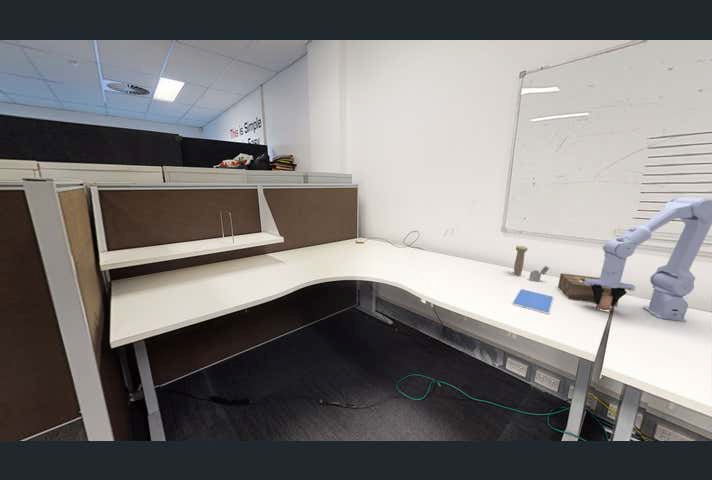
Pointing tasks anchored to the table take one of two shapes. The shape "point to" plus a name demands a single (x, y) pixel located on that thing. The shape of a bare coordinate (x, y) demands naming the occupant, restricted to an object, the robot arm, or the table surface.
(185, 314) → the table surface
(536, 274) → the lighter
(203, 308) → the table surface
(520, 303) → the tablet computer
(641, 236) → the robot arm
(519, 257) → the handle
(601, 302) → the peg
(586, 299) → the socket block
